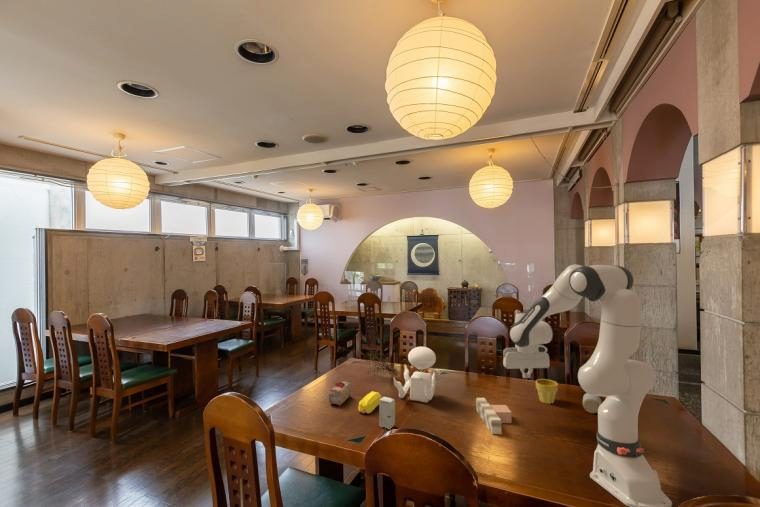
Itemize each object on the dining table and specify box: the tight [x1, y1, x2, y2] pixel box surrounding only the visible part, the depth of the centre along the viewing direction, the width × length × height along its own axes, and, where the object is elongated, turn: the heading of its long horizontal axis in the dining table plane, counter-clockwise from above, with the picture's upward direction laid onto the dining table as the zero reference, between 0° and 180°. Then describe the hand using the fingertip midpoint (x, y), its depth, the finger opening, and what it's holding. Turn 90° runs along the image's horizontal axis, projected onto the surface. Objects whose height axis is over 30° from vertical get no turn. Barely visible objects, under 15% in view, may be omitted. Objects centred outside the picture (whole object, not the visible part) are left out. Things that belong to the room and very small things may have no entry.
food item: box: [327, 381, 351, 406], centre depth 186 cm, size 14×8×10 cm, turn 161°
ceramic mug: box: [582, 392, 602, 414], centre depth 168 cm, size 11×8×8 cm
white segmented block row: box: [475, 397, 503, 435], centre depth 160 cm, size 24×4×6 cm, turn 0°
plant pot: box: [535, 378, 559, 405], centre depth 181 cm, size 10×10×10 cm
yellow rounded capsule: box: [358, 390, 383, 414], centre depth 176 cm, size 18×7×8 cm
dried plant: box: [330, 333, 400, 377], centre depth 221 cm, size 30×31×45 cm
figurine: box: [393, 346, 437, 403], centre depth 188 cm, size 24×20×28 cm
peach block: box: [489, 404, 513, 424], centre depth 162 cm, size 8×8×5 cm
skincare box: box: [378, 396, 396, 430], centre depth 157 cm, size 6×4×12 cm
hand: (526, 377), depth 160 cm, fingers closed
